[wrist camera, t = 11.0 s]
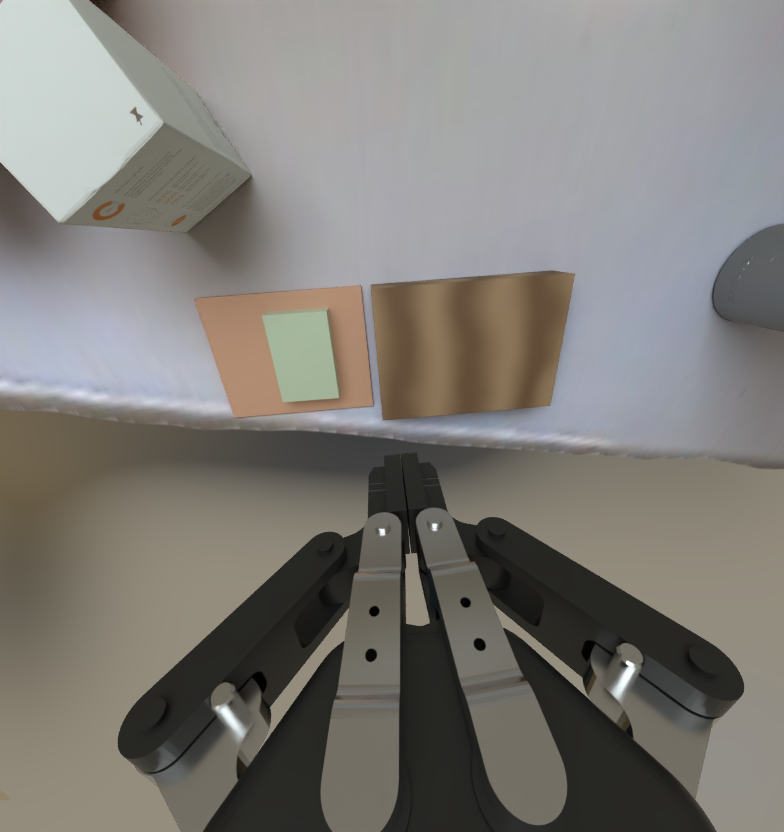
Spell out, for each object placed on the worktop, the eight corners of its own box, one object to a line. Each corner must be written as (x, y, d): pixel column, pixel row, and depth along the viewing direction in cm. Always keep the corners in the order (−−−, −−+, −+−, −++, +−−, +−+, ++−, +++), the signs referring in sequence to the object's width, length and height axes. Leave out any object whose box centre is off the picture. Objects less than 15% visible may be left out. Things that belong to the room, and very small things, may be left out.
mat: (360, 285, 31) (360, 285, 31) (373, 404, 37) (373, 405, 37) (195, 298, 31) (194, 298, 31) (235, 416, 37) (234, 417, 37)
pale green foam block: (261, 315, 30) (267, 311, 32) (282, 402, 34) (287, 394, 36) (326, 311, 30) (328, 307, 32) (339, 398, 34) (340, 390, 36)
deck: (552, 270, 32) (575, 273, 28) (533, 390, 38) (550, 405, 34) (371, 284, 31) (371, 289, 28) (381, 403, 37) (383, 420, 34)
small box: (193, 87, 24) (33, -56, 13) (254, 176, 27) (167, 124, 15) (121, 158, 26) (-77, 89, 14) (185, 235, 29) (61, 228, 17)
